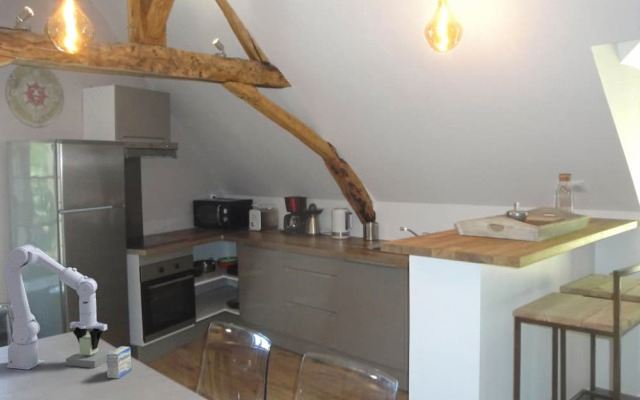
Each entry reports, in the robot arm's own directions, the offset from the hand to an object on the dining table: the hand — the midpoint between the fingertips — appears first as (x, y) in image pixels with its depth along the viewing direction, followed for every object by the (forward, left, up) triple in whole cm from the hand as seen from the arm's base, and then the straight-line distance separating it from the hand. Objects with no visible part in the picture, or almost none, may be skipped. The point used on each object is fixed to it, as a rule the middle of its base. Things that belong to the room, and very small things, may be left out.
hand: (89, 348), depth 194 cm
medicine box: (+18, -8, -6) cm, 20 cm away
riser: (0, 0, -5) cm, 5 cm away
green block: (0, 0, -2) cm, 2 cm away
